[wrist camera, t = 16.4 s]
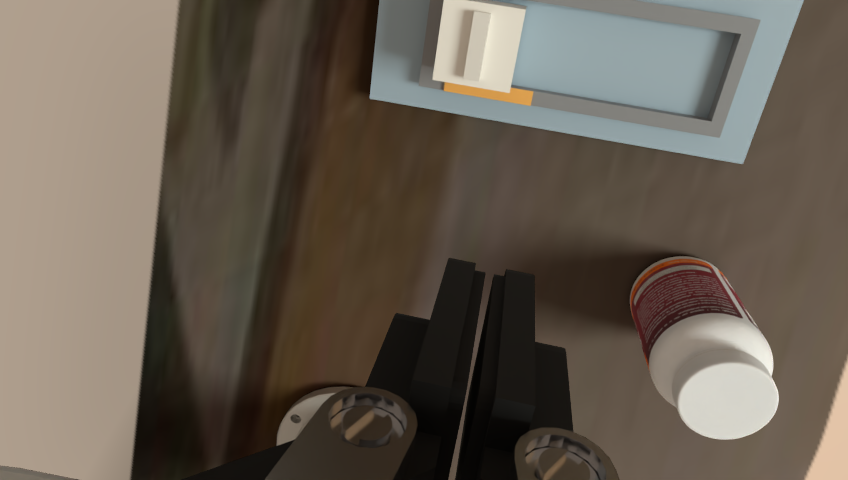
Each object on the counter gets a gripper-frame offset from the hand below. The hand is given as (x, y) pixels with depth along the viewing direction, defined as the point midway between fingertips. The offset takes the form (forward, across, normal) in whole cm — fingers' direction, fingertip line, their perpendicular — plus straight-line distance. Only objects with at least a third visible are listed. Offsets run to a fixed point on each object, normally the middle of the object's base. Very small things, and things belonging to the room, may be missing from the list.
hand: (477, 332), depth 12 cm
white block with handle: (+26, +2, -3) cm, 26 cm away
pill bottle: (+27, -13, +11) cm, 32 cm away
